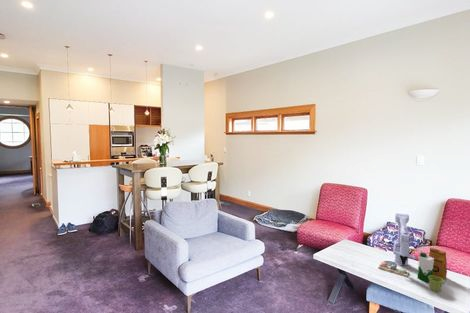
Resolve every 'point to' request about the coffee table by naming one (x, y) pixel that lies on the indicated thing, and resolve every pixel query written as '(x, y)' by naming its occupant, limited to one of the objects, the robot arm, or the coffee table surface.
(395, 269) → the button grey
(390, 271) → the button panel
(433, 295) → the coffee table surface
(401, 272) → the button sage
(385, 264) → the button terracotta
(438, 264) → the coffee package
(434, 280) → the plant pot
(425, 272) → the milk carton
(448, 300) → the coffee table surface
